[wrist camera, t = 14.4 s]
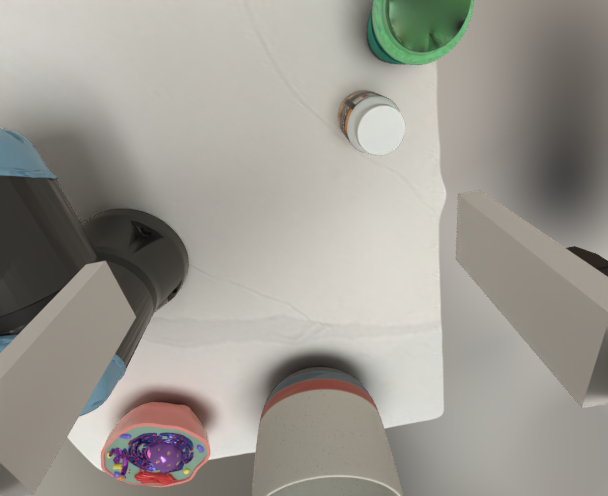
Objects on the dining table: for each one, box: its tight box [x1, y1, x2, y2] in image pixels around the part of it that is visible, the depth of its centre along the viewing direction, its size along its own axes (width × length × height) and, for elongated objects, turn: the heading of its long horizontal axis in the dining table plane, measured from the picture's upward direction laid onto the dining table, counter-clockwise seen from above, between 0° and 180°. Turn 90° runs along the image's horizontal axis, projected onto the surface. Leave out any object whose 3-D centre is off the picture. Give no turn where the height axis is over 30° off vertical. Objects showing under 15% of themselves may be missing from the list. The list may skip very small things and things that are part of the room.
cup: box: [367, 0, 474, 65], centre depth 32 cm, size 8×8×12 cm
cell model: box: [101, 402, 210, 487], centre depth 61 cm, size 17×20×11 cm
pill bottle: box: [338, 91, 405, 155], centre depth 38 cm, size 6×6×10 cm
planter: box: [252, 367, 403, 496], centre depth 55 cm, size 20×20×21 cm
